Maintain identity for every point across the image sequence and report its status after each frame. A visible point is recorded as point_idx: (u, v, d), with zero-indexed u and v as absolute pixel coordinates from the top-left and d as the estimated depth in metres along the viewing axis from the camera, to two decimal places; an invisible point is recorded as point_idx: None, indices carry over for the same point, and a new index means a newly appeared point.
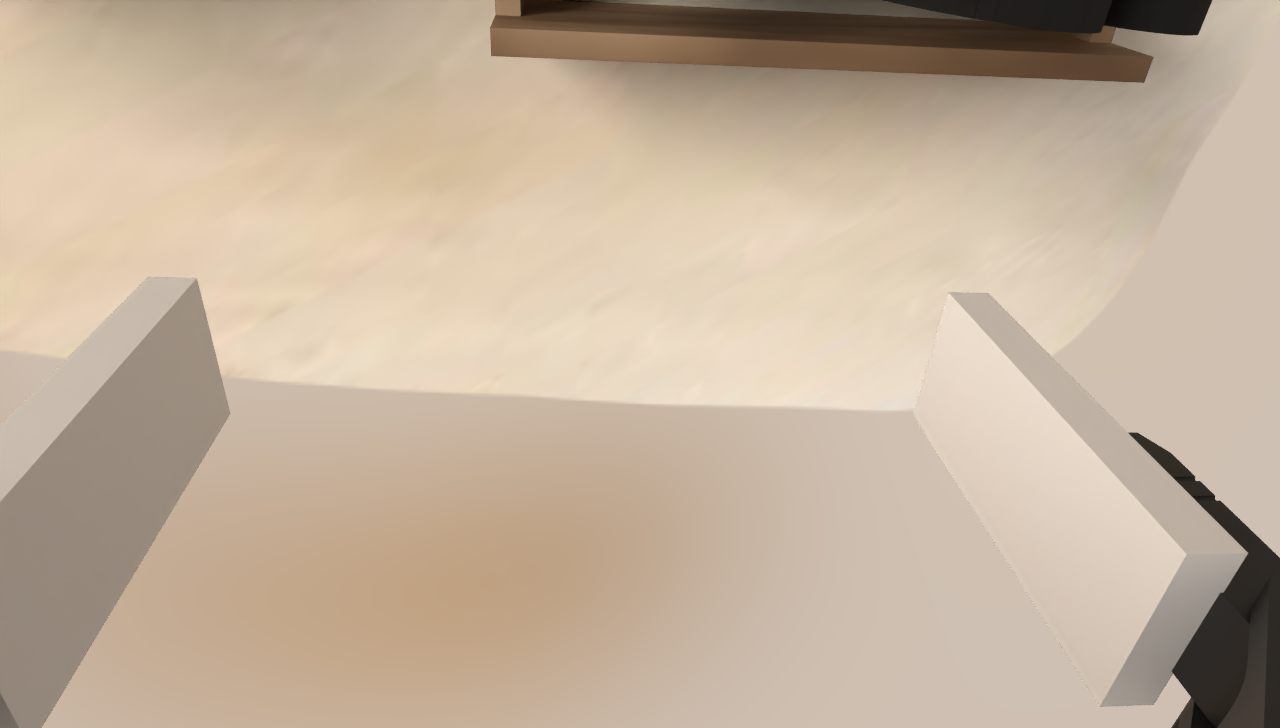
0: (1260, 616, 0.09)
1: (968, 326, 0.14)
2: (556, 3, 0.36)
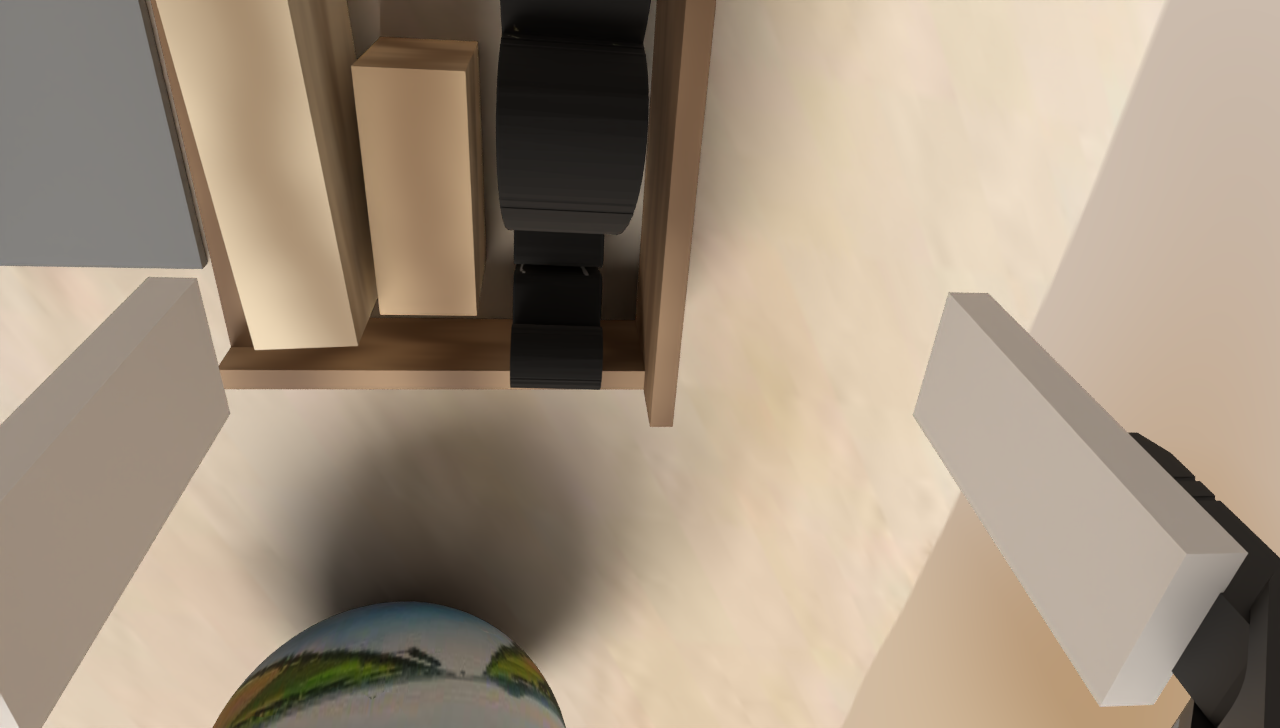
0: (1260, 616, 0.09)
1: (968, 326, 0.14)
2: (638, 304, 0.40)
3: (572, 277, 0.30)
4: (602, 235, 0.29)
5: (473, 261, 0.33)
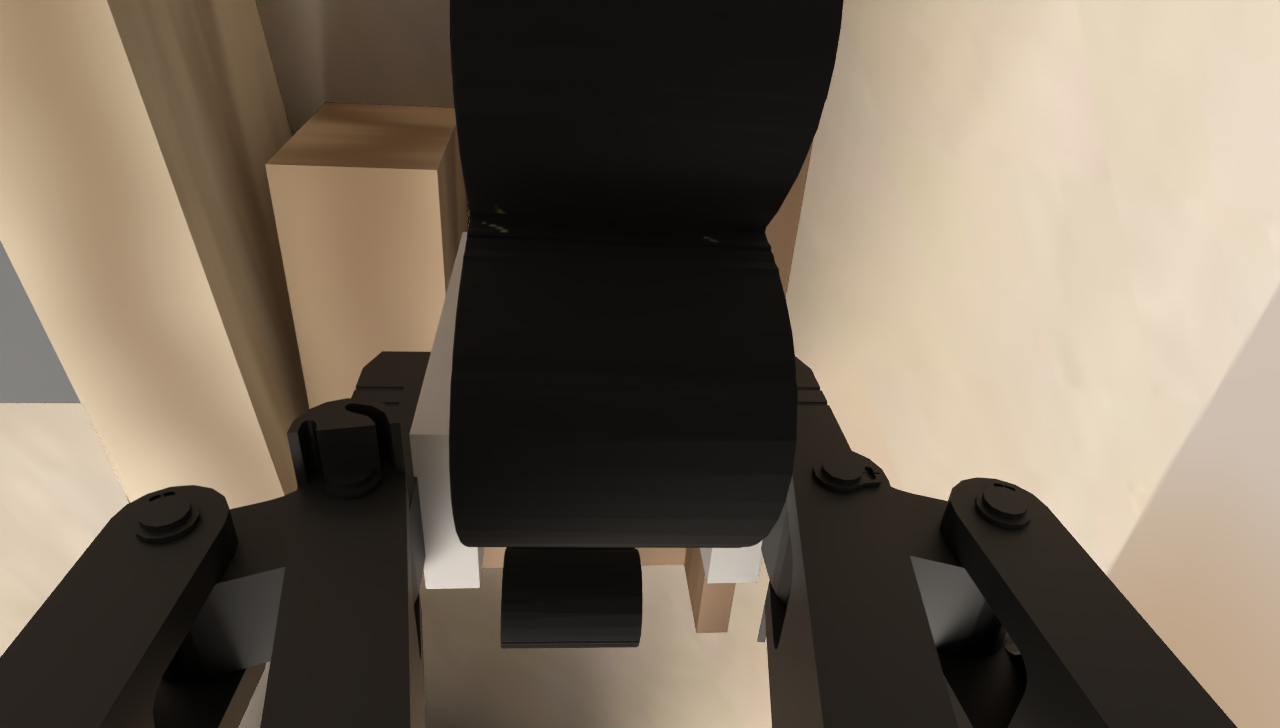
0: (792, 505, 0.10)
1: None
2: None
3: None
4: None
5: None
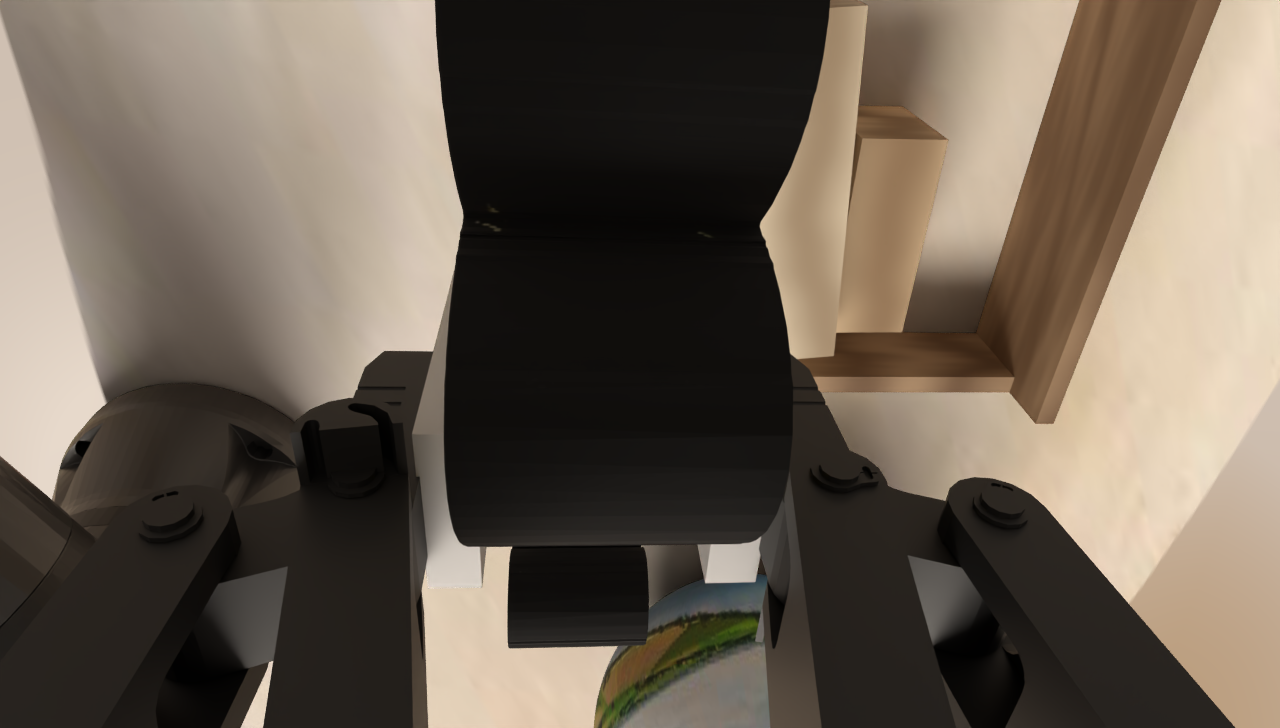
0: (790, 505, 0.10)
1: None
2: (989, 319, 0.48)
3: None
4: None
5: (911, 288, 0.40)
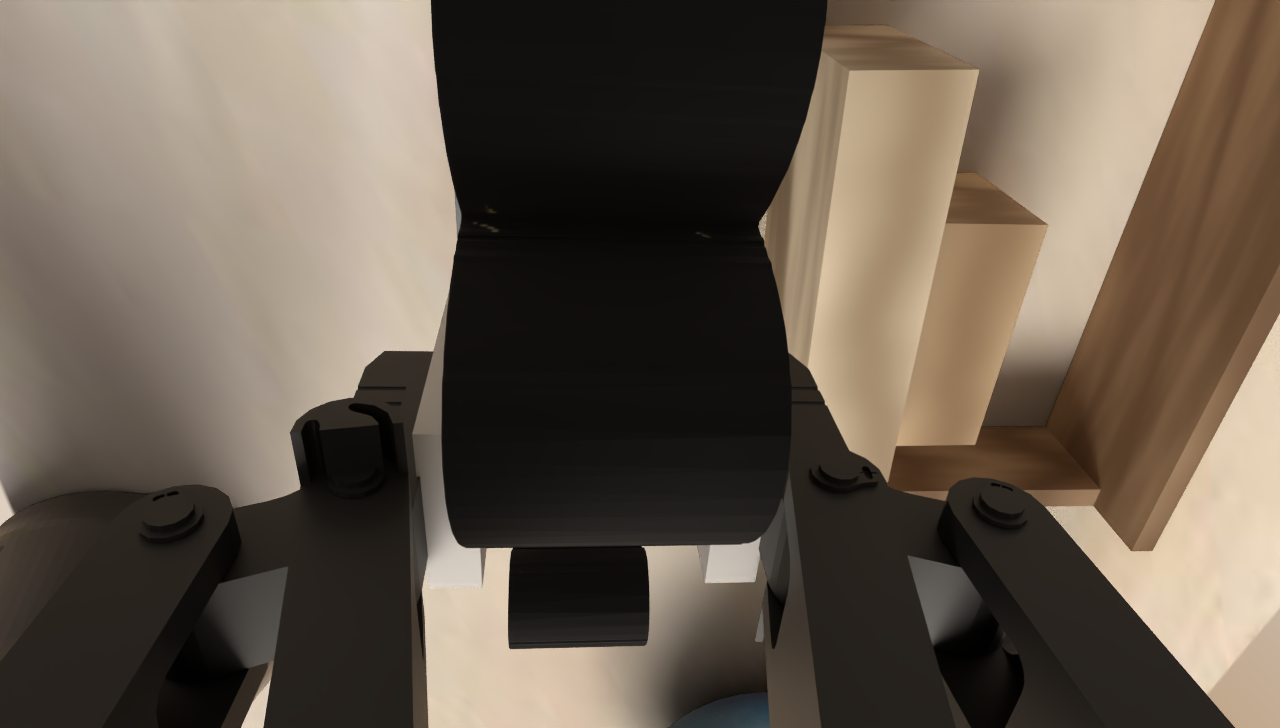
0: (789, 505, 0.10)
1: None
2: (1065, 414, 0.40)
3: None
4: None
5: (989, 395, 0.33)
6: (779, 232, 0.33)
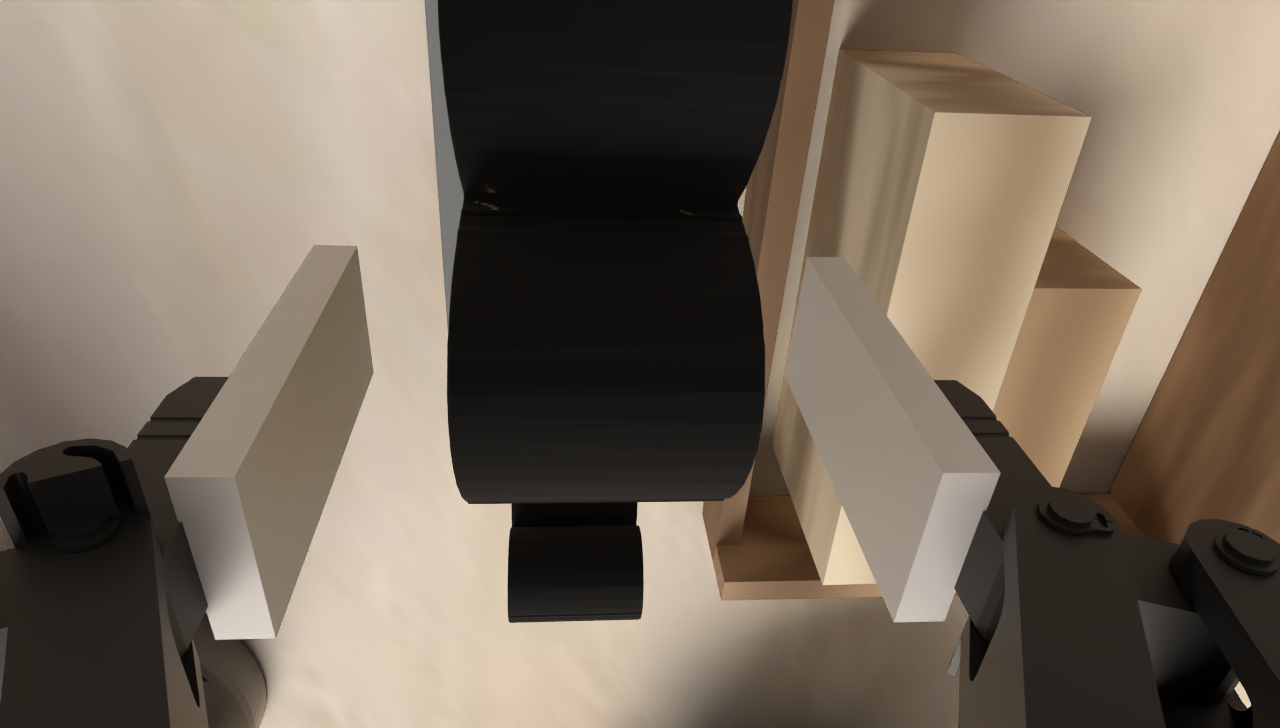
0: (1010, 537, 0.10)
1: (818, 286, 0.15)
2: (1132, 482, 0.36)
3: None
4: None
5: (1061, 478, 0.29)
6: None
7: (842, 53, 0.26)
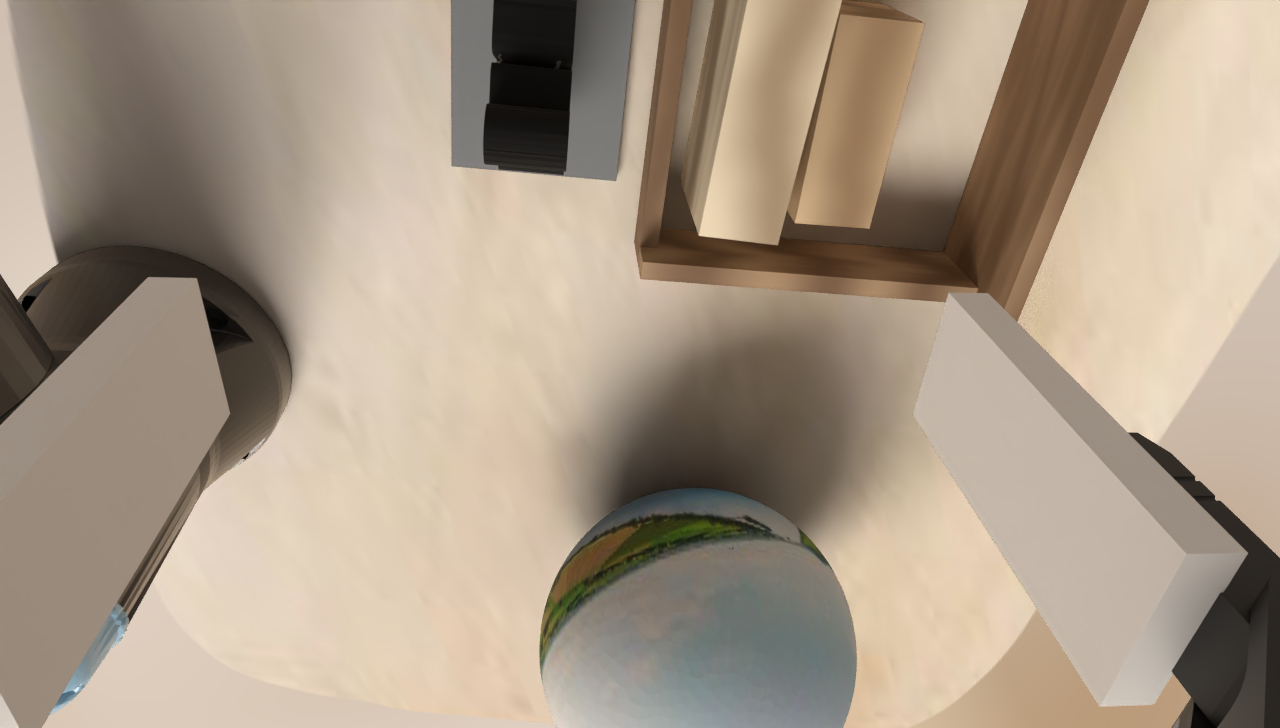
0: (1260, 616, 0.09)
1: (968, 326, 0.14)
2: (957, 236, 0.48)
3: (545, 68, 0.32)
4: (573, 27, 0.32)
5: (881, 181, 0.41)
6: (716, 29, 0.40)
7: None
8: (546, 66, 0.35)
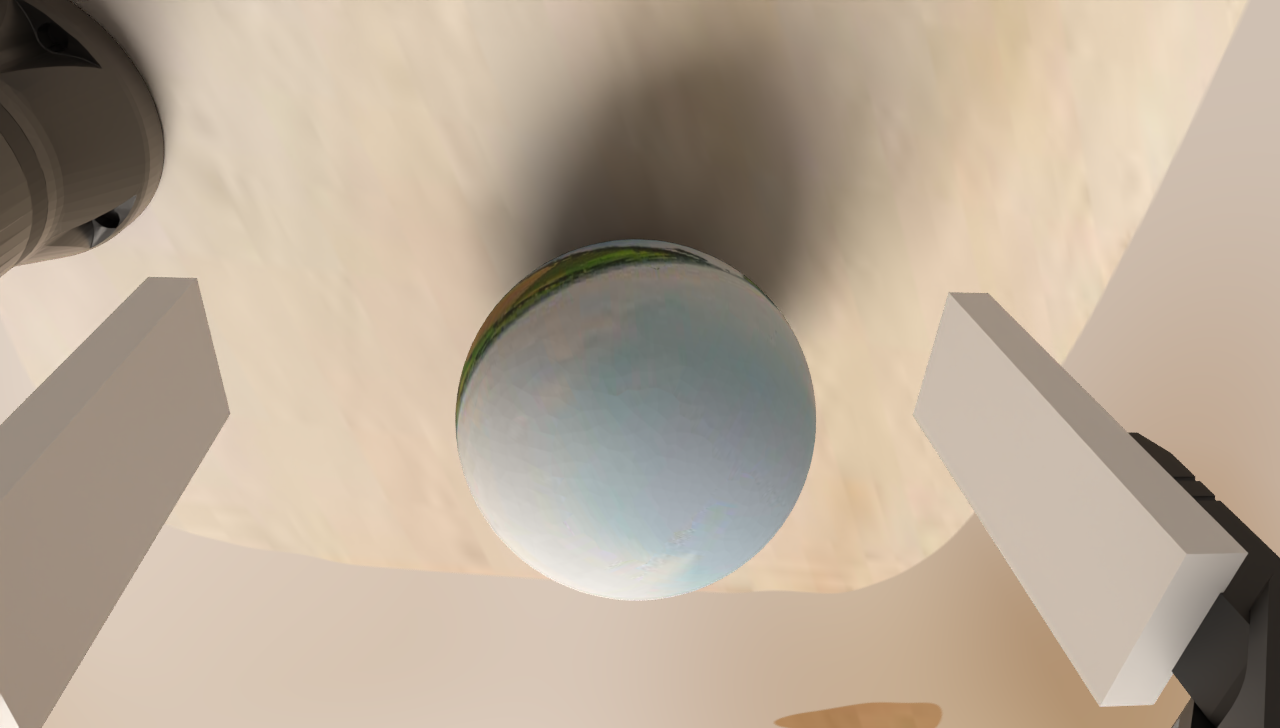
0: (1260, 616, 0.09)
1: (968, 326, 0.14)
2: None
3: None
4: None
5: None
6: None
7: None
8: None
